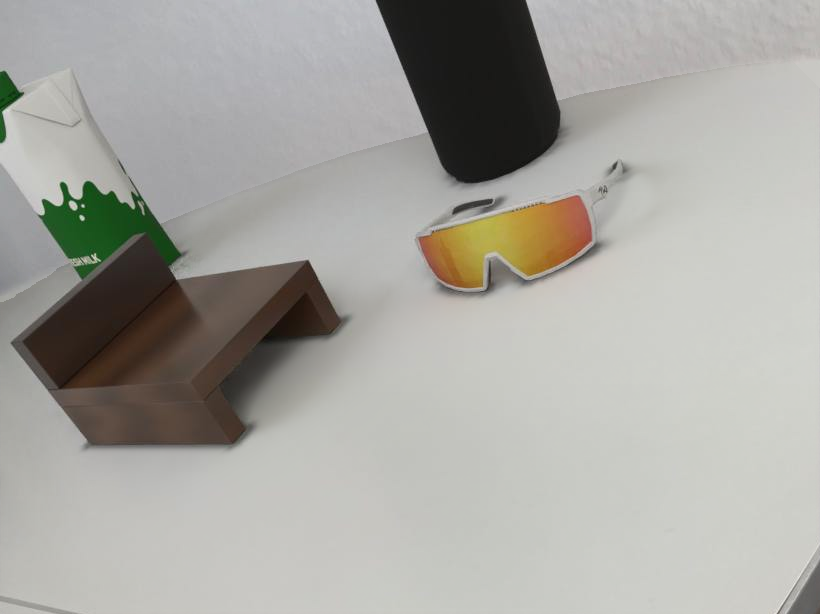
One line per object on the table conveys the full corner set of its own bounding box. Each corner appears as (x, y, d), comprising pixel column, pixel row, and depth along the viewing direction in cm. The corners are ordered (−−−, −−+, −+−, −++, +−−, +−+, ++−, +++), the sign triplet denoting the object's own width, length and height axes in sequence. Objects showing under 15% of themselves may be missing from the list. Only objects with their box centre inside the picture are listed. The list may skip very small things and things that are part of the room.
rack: (90, 444, 75) (9, 342, 69) (198, 335, 82) (133, 234, 76) (232, 444, 66) (153, 326, 60) (341, 321, 73) (280, 205, 67)
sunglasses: (410, 312, 69) (382, 241, 66) (479, 234, 79) (458, 169, 76) (603, 268, 62) (582, 188, 59) (650, 189, 73) (634, 117, 70)
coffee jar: (510, 121, 89) (430, -112, 77) (591, 121, 81) (516, -138, 69) (424, 184, 86) (327, -47, 74) (499, 190, 78) (404, -66, 66)
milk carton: (83, 306, 99) (-61, 104, 86) (140, 256, 104) (11, 57, 91) (136, 300, 94) (-9, 84, 81) (194, 248, 99) (65, 36, 86)
